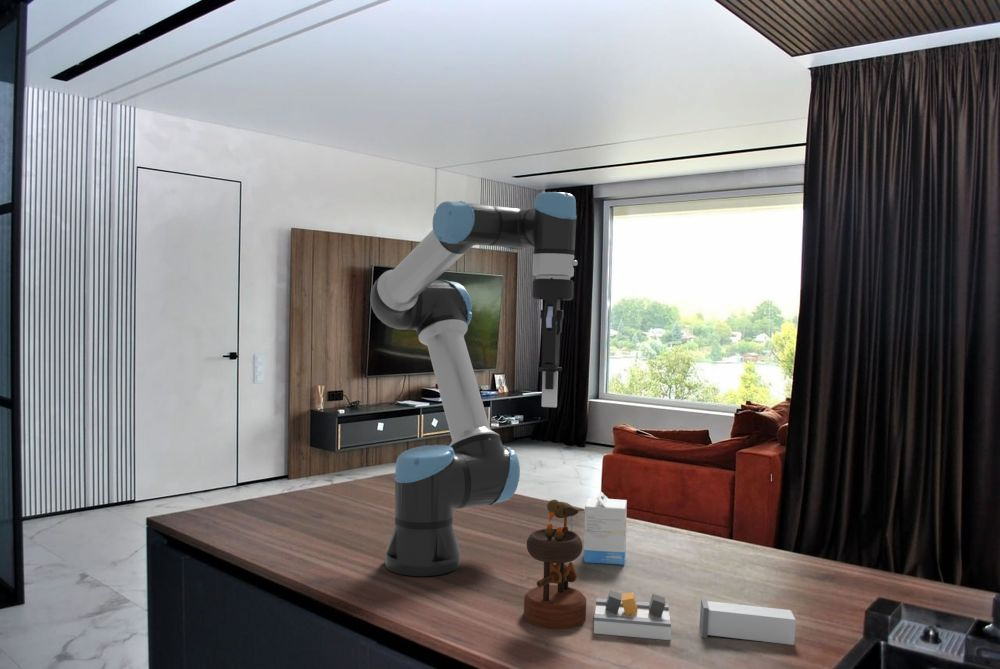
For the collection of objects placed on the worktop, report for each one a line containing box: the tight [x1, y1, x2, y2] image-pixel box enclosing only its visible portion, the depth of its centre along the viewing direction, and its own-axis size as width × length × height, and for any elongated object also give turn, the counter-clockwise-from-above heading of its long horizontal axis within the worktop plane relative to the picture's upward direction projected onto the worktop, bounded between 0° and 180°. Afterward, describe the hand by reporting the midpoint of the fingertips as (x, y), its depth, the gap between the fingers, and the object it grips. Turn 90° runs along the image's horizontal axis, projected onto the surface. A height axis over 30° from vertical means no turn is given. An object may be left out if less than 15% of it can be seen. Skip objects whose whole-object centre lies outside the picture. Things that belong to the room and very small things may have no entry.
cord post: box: [699, 596, 797, 646], centre depth 123 cm, size 5×5×14 cm
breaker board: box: [593, 597, 672, 641], centre depth 126 cm, size 12×9×2 cm
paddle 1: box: [605, 590, 623, 614], centre depth 127 cm, size 2×3×2 cm
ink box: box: [583, 490, 628, 566], centre depth 161 cm, size 9×8×13 cm
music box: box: [523, 499, 587, 630], centre depth 128 cm, size 15×11×20 cm
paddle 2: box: [621, 591, 638, 615], centre depth 126 cm, size 2×3×2 cm
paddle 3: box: [649, 593, 666, 618], centre depth 125 cm, size 2×3×2 cm
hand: (549, 406), depth 142 cm, fingers closed
